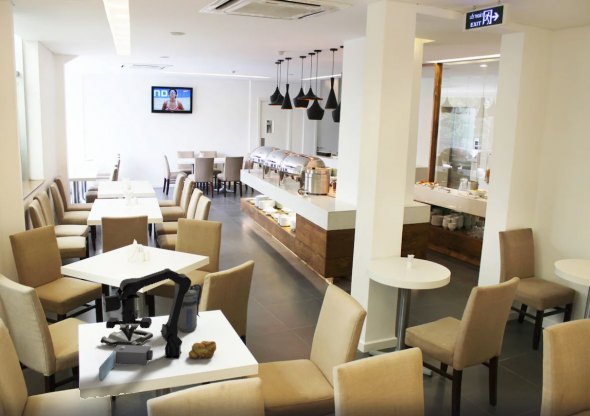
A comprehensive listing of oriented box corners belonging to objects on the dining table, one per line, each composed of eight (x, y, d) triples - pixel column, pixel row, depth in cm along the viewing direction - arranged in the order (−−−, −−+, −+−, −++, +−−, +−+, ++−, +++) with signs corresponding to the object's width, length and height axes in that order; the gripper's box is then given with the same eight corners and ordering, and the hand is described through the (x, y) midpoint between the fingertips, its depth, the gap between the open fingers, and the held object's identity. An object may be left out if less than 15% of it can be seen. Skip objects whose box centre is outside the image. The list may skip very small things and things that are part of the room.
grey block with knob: (153, 358, 234) (153, 344, 232) (149, 365, 227) (149, 351, 226) (118, 356, 233) (117, 343, 232) (112, 364, 226) (112, 350, 225)
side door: (102, 380, 212) (102, 366, 211) (98, 379, 212) (98, 366, 211) (116, 363, 226) (115, 351, 225) (112, 363, 226) (112, 351, 225)
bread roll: (190, 362, 231) (190, 346, 230) (186, 353, 240) (186, 337, 239) (217, 358, 236) (217, 342, 235) (212, 349, 245) (212, 334, 244)
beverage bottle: (203, 330, 266) (203, 285, 262) (178, 334, 260) (178, 288, 256) (198, 323, 275) (199, 279, 271) (174, 326, 269) (174, 282, 265)
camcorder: (137, 353, 238) (137, 342, 238) (99, 346, 243) (99, 336, 242) (154, 339, 254) (154, 329, 253) (118, 333, 258) (118, 324, 258)
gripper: (153, 301, 230) (154, 333, 233) (112, 301, 229) (114, 333, 232) (148, 310, 219) (149, 343, 222) (104, 310, 218) (106, 343, 221)
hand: (129, 340), depth 225 cm, fingers closed
